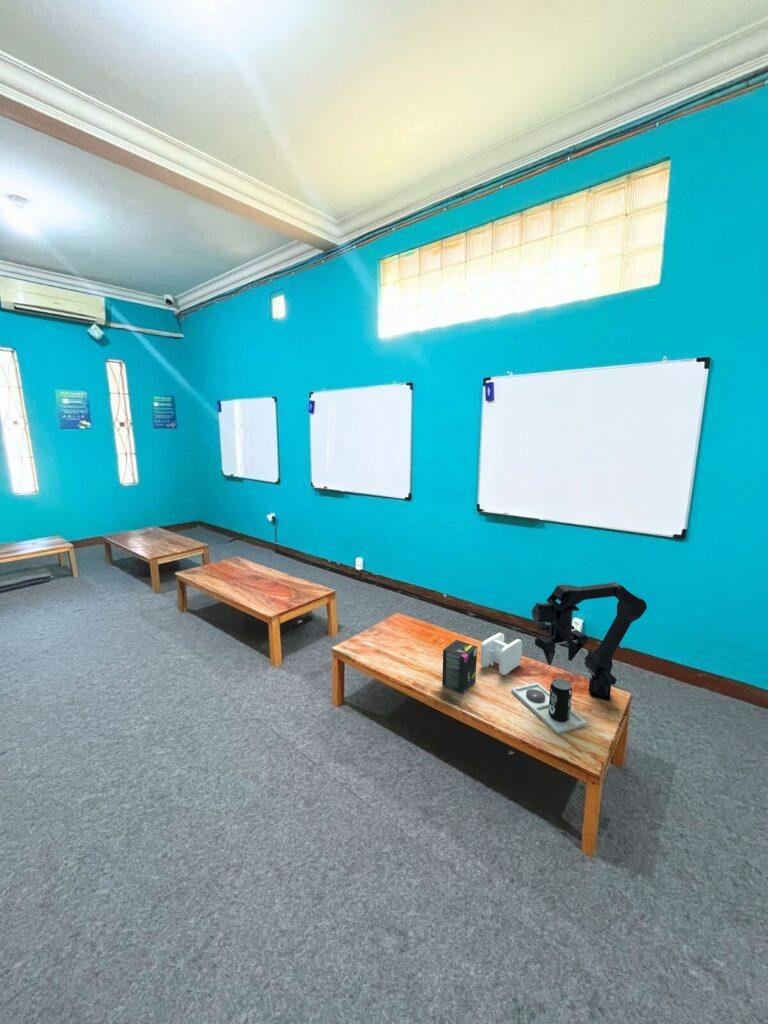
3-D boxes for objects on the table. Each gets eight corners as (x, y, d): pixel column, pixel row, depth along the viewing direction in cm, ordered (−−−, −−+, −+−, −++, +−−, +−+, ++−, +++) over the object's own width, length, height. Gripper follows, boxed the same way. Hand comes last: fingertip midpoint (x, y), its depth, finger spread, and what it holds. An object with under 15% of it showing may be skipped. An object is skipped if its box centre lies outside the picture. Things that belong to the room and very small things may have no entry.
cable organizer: (501, 679, 155) (503, 651, 153) (478, 668, 163) (479, 641, 161) (521, 665, 165) (523, 638, 163) (498, 655, 173) (500, 630, 171)
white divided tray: (537, 685, 150) (537, 681, 150) (586, 725, 129) (586, 721, 129) (511, 692, 147) (511, 687, 146) (557, 734, 125) (557, 729, 125)
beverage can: (544, 712, 135) (546, 679, 133) (560, 708, 137) (562, 676, 135) (557, 725, 129) (560, 691, 127) (574, 721, 130) (577, 687, 128)
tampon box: (463, 695, 145) (465, 657, 143) (441, 685, 150) (442, 649, 148) (476, 681, 154) (478, 645, 151) (455, 672, 159) (456, 638, 157)
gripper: (566, 609, 150) (563, 647, 153) (525, 616, 144) (523, 655, 147) (590, 621, 140) (586, 662, 143) (547, 629, 134) (544, 671, 136)
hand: (559, 662), depth 142 cm, fingers open, 9 cm apart
